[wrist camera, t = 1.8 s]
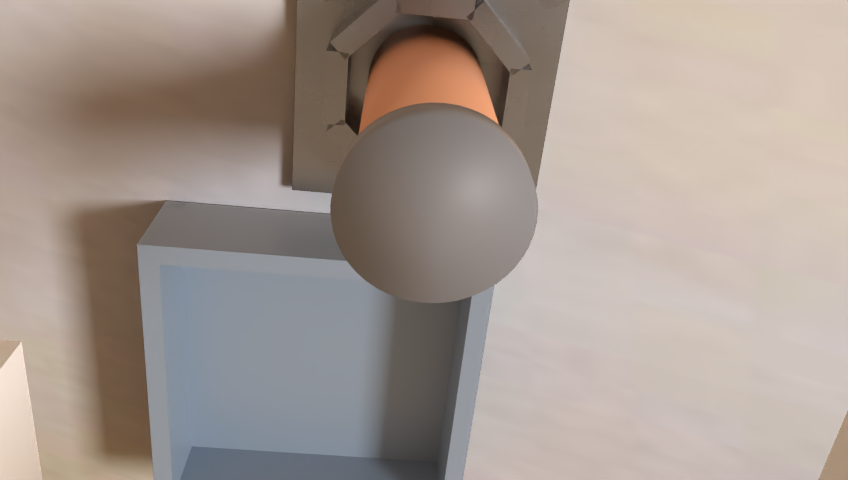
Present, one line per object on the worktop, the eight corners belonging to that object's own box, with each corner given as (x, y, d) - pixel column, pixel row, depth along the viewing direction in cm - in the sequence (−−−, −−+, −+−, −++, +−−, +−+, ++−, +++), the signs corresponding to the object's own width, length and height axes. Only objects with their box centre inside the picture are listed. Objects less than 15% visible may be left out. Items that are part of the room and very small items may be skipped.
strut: (362, 7, 29) (335, 105, 18) (501, 20, 29) (554, 125, 19) (353, 140, 32) (325, 295, 21) (483, 151, 32) (520, 310, 21)
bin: (166, 200, 33) (136, 244, 30) (487, 227, 34) (496, 272, 30) (179, 449, 39) (156, 510, 36) (450, 466, 40) (454, 528, 37)
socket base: (300, -71, 28) (291, -63, 26) (574, -42, 29) (588, -32, 27) (293, 185, 33) (285, 210, 31) (530, 205, 34) (539, 231, 31)
